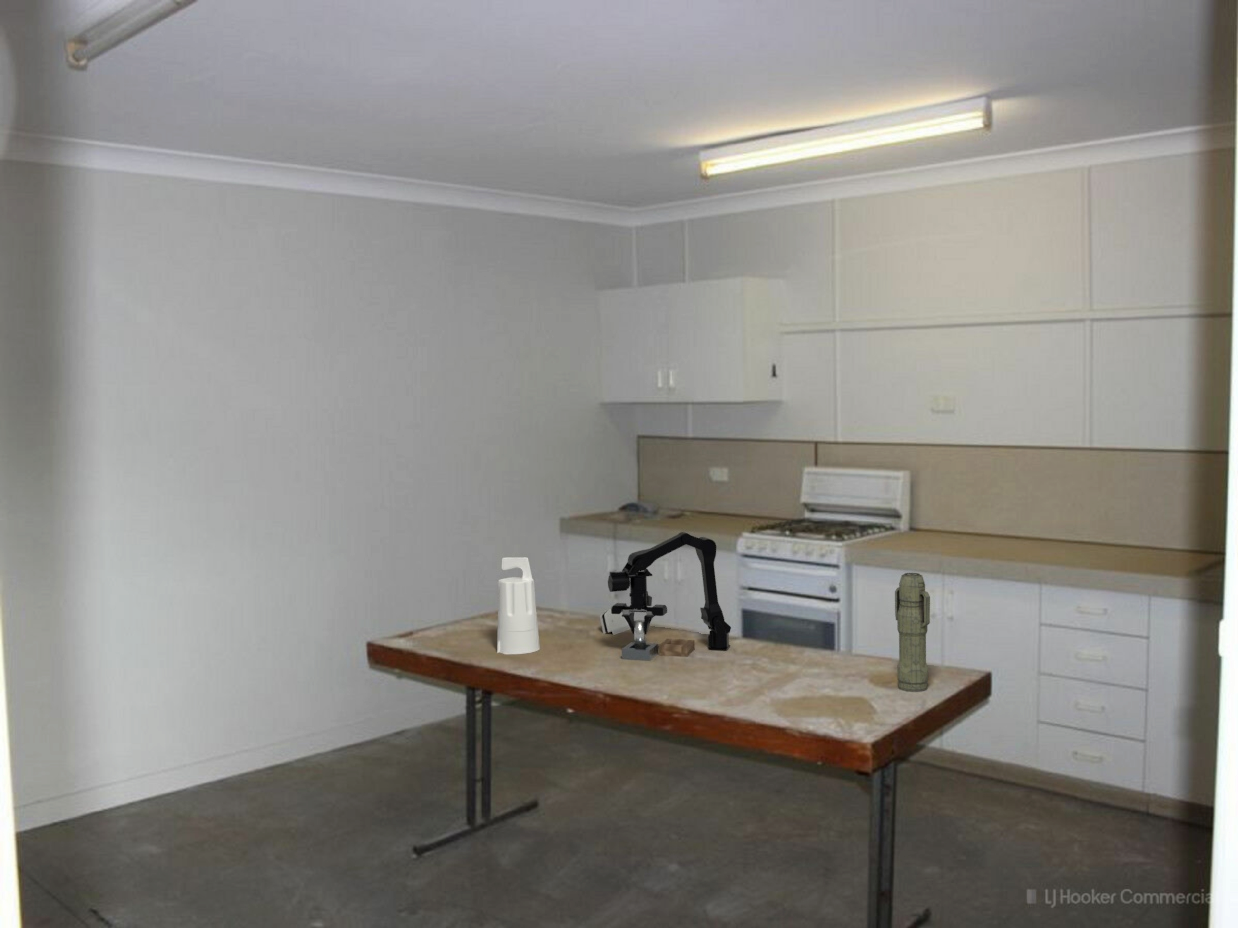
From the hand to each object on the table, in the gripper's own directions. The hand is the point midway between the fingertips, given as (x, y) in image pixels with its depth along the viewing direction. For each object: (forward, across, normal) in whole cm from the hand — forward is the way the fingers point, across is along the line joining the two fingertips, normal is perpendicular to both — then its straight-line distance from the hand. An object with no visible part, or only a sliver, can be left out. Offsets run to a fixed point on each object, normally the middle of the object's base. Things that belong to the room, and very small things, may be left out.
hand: (639, 633), depth 387 cm
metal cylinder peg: (+4, 0, 0) cm, 4 cm away
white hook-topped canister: (+8, +46, 0) cm, 47 cm away
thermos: (+8, -93, +18) cm, 95 cm away
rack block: (+8, 0, 0) cm, 8 cm away
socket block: (+8, -11, -8) cm, 16 cm away
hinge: (+8, +21, -37) cm, 43 cm away
